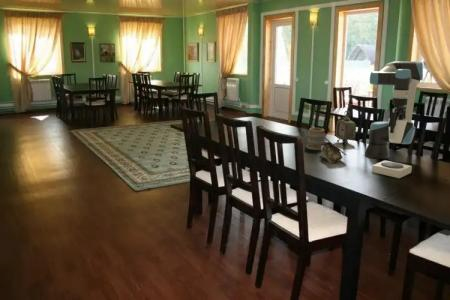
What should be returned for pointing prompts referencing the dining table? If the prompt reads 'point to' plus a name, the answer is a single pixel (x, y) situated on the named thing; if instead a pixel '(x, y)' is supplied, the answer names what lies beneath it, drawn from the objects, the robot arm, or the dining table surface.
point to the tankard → (315, 138)
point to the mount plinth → (391, 169)
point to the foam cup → (398, 130)
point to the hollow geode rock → (331, 152)
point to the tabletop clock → (345, 129)
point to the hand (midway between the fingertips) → (395, 137)
